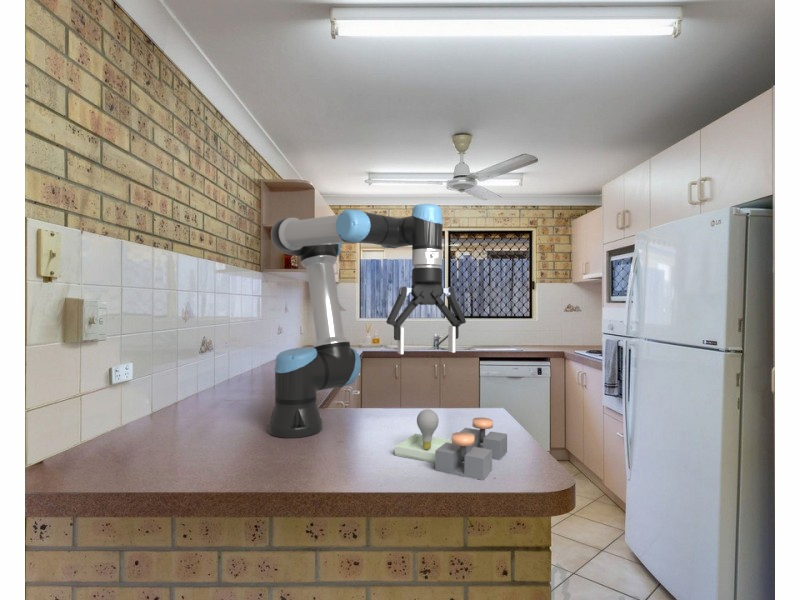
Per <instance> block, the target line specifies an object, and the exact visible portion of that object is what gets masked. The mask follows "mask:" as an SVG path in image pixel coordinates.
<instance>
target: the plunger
mask: <svg viewBox="0 0 800 600" xmlns="http://www.w3.org/2000/svg"><path fill="white" fill-rule="evenodd" d="M451 440H452V443H453V444H455V445H458V446H460V461H462V462H464V463H465V455H466V446H471V445H474V443H475V436H474V435H473V434H470V433H465V432H460V431H459V432H454V433H452V434H451Z"/></svg>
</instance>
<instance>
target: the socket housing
mask: <svg viewBox="0 0 800 600" xmlns="http://www.w3.org/2000/svg"><path fill="white" fill-rule="evenodd" d="M459 432H465V433H470V434H473V435H474V436H475V443H474V445H471V446H466V455H465V462H462V461H460V446H458V445H455V444H453V443H448V442H446V443H444V444H443V445H442V446H441V447H439V448H438V449H437V450H435V463H434V464H435V466H434V467H435V469H434V471H435V472H440V473H445V474H449V475H450V474H452V475H456V476H460V477H465V478H471V479H476V480H481V481H485V479H486V478H487V477H488V475H490V473H491V472H492V471H493V459H494V460H499V461H501V460H502V458H504V456H506V454H507V453H508V434H507V433H503V432H495V431H489V433H487V434H485V437H484V438H483V443H480V429H478V428H471V427H464V428H463V429H462V430H460V431H459Z"/></svg>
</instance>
